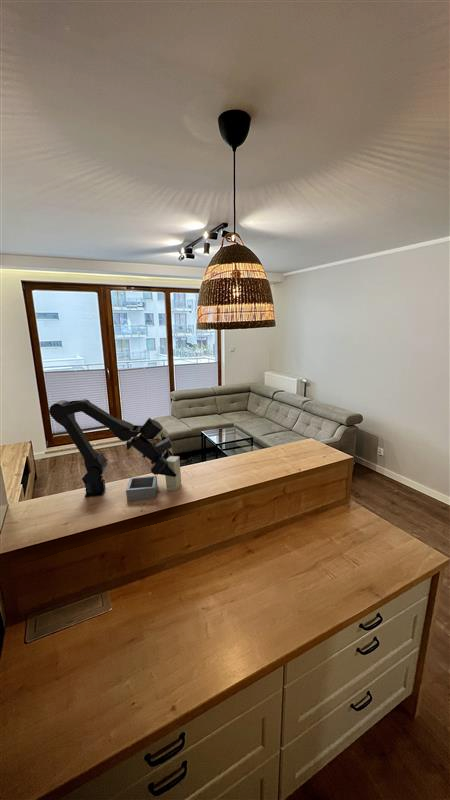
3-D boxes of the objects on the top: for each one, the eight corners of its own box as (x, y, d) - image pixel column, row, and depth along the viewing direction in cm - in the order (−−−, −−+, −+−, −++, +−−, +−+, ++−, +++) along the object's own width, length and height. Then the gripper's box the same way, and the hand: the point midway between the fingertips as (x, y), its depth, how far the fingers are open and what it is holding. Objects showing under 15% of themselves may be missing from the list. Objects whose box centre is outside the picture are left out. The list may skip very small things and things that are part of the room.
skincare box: (176, 491, 127) (174, 462, 124) (165, 490, 128) (163, 461, 125) (181, 483, 133) (180, 456, 130) (171, 482, 134) (169, 455, 131)
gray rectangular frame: (127, 501, 120) (125, 490, 119) (131, 488, 131) (130, 477, 130) (155, 498, 122) (154, 487, 121) (157, 485, 132) (156, 475, 131)
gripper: (157, 440, 116) (190, 466, 120) (161, 425, 134) (189, 448, 138) (137, 462, 117) (170, 487, 120) (143, 444, 135) (171, 467, 138)
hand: (176, 471), depth 129 cm, fingers open, 9 cm apart
